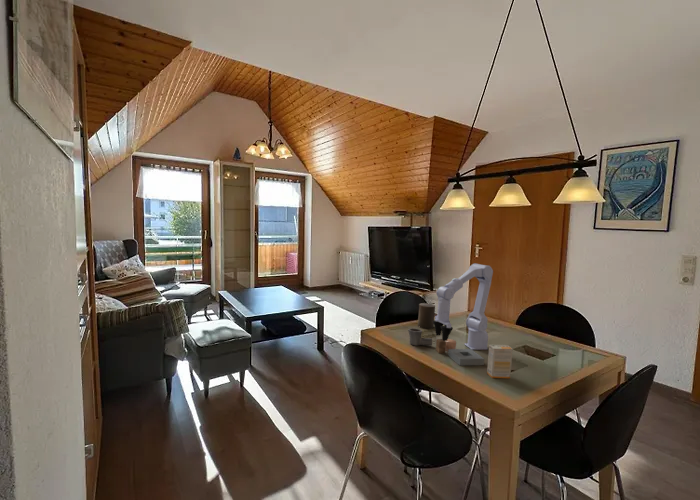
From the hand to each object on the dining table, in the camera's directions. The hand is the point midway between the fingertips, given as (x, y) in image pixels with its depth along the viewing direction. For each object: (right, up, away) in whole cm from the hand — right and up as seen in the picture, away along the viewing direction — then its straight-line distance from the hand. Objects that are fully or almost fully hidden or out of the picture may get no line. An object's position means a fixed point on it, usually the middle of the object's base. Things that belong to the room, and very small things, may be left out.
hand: (441, 337), depth 168 cm
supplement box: (+18, -11, -23) cm, 31 cm away
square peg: (0, -7, +1) cm, 7 cm away
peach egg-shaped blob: (+5, -7, +4) cm, 10 cm away
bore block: (+9, -9, -8) cm, 15 cm away
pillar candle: (+2, -4, +42) cm, 43 cm away
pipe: (-9, -6, +9) cm, 14 cm away
